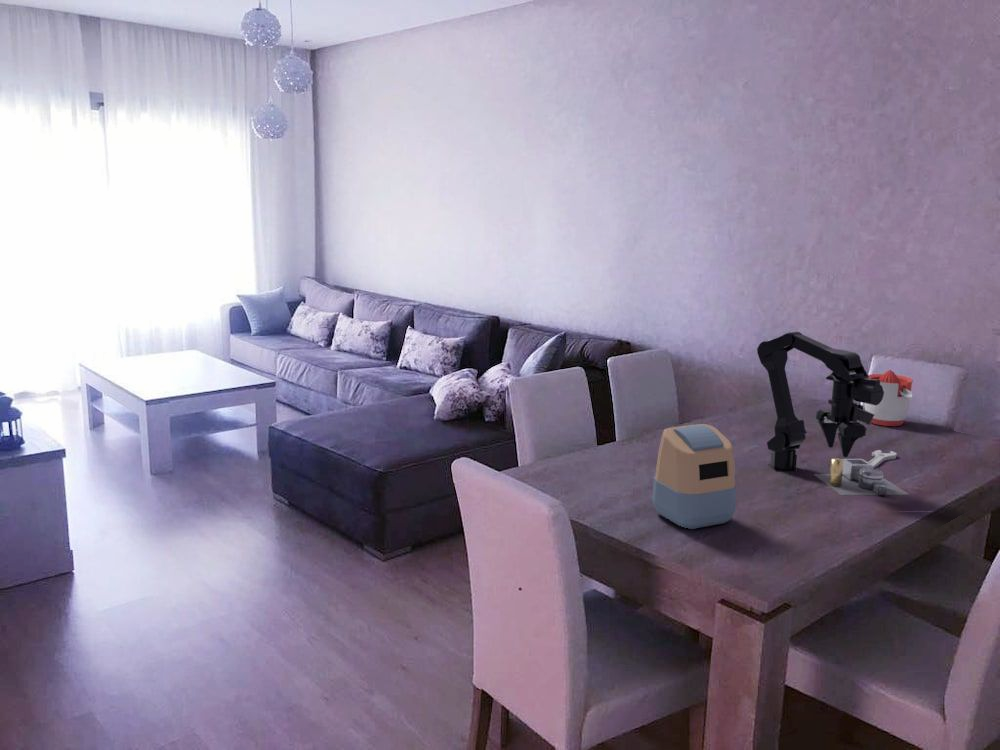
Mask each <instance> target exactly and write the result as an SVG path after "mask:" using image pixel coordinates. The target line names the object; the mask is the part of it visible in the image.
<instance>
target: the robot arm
mask: <svg viewBox="0 0 1000 750" xmlns="http://www.w3.org/2000/svg"><path fill="white" fill-rule="evenodd" d="M794 349H795V350H797V351H800V352H802V353H803V354H806V355H808V356H810V357H812V358H814V359H817V360H819V361H820V362H822V363H823V364H824V365H825V367H826V368H827V369H829V371H831V373H830V374H829V375H828V376H826V377H825V379H826V380H828V381H833V382H832V389H831V399H828V404H830V409H819V410H818V411H816V416H815V419H816V421H817V423H818V424H819V427H820V429H821V431H822V434H823V437H824V438H825V441H826V444H827V446H828V448H833V447H834V443H835V439H836V435H837V437H838V441H839V445H840V450H841V454H842V457H843V458H847V457H848V456H849V455H850V452H851V450H852V449H853V446H854V444H855V443H856V441H857V440H858V439H861V438H863V437H865V436H867V429H868V428H867V427H866V426H865V425H864V424H862V423H865V424H866V425H869V426H870V425H871V424H872V423H871V421H872V419H873V417H874V414H872V413H870V412H868V411H866V410H865V409H864V405H862V404H860V403H863V404H864V403H867V404H872V405H878V404H879V403H880V402H881V401H882V399H883V396H884V391H883V387H882V386H881V385H880V380H878V379H869V376H868V375H869V374H868V372H867V370H866V369H865V367H864V365H863V363H862V360H861V356H860V355H859V354H858V353H856V352H853V351H848V350H846V349H845V350H844V349H838V348H833V347H831V346H828V345H827V344H824V343H822V342H819V341H818V340H815V339H813V338H811V337H809V336H807V335H805V334H803V333H801V331H792V332H791V331H790V332H786V333H785V334H783V335H781V336H778V337H776V338H773V339H770V340H766V341H765V340H764V341H761V342H760V343H759V344H758V346H757V348H756V351H757V353H756V354H757V355H758V358H759V362H760V364H761V365H762V367H763V368H764V369H765V370H766V371H767V374H768V379H769V384H770V385H769V386H770V390H771V394H772V398H773V404H774V408H775V412H776V421H775V422H776V423H775V425H774V436H773V437H772V438H771V439H770V440H768V441H767V442H766V445H767V448H768V450H769V451H771V452H770V463H768V466H769V467H770V468H771V469H772V470H773V471H774V472H797V469H796V468H797V462H798V454H796V453H797V450H798V449H799V450H800V448H801V445H802V444H803V443H804V441H805V440H806V434H807V430H806V428H805V421H804V420H803V419H798V417H797V416H796V415H795V411H794V407H793V401H792V397H791V392H790V391H791V390H790V387H789V382H788V377H787V372H786V365H787V361H788V352H790V351H792V350H794ZM855 401H856V402H855ZM857 402H860V403H857ZM858 421H859V422H858ZM860 422H862V423H860ZM837 431H838V433H837Z"/></svg>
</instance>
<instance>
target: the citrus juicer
mask: <svg viewBox="0 0 1000 750" xmlns="http://www.w3.org/2000/svg"><path fill="white" fill-rule="evenodd" d="M867 375H868V376H869V379H878V380H880V385H881V386H882V387H883V391H884V396H883V399H882V401H881V402H880V403H879V404H878V405H872V404H867V403H863V404H864V410H866V411H868V412H870V413H872V414H874V417H873V419H872V421H871V423H870V424H874V425H880V426H882V427H886V426H887V427H898V426H902V425H903V423H904V422H905V421H906V418H907V415H908V413H909V410H910V404H911V399H912V397H913V396H914V395H913V392H912V387H913V382H914V379H913V378H910V377H907V376H903V375H897V374H896V373H895V372H894V371H893V370H892V369H889V370H887V371H885V372H884V373H874V374H872V373H871V374H867Z"/></svg>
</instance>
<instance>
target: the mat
mask: <svg viewBox="0 0 1000 750" xmlns="http://www.w3.org/2000/svg"><path fill="white" fill-rule="evenodd" d="M813 476H815V477H816V478H817V479H819V480H820V481H822V482H823V483H824V484H825V485H826V486H828V487H829V488H831V489H832V490H833V491H835V492H836V493H837V494H839V495H840V496H877V495H879V494H877V493H876V492H875V491H870V490H865V489H862V488H860V487H858V482H859V481H857V480H850V479H848V478H847V477H846V476H844V475H843V474H842V483H841V487H833V486H830V485H829V479H830V473H813ZM882 485H883V486H884V487H886V488H887V495H886V496H888V495H891V496H893V495H894V496H895V495H896V496H897V495H901V496H902V495H909V493H908V492H907V491H906V490H903V489H902V488H900V487H898V486H897V485H896V484H894V483H892V481H890V480H887V479H886V478H884V477H883V480H882ZM879 496H880V495H879Z"/></svg>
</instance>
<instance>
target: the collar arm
mask: <svg viewBox="0 0 1000 750" xmlns="http://www.w3.org/2000/svg"><path fill="white" fill-rule="evenodd" d="M842 459H843V460H844V461H843V472H842V474H843V475H844V476H846V477H847V478H848V479H850V480H857V481H859V471H860V469H861V468H873V465H872V464H870V463H868V462H869V461H867V460H865V459H863V458H842ZM873 469H874V468H873ZM872 490H873V491H875V492H876V493H877V494H879V496H888V495H887V488H886V487H884V486H883V485H881V484H873V489H872Z"/></svg>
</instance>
